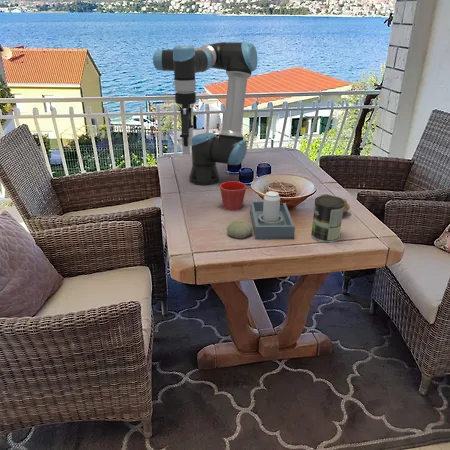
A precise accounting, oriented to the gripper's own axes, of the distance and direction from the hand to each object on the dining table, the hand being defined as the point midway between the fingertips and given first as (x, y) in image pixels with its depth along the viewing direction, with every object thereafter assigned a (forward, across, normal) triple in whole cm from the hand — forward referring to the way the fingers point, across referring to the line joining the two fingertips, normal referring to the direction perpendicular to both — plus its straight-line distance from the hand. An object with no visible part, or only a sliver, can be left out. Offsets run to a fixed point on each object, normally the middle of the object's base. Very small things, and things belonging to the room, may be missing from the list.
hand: (187, 149), depth 156 cm
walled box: (+27, +12, +32) cm, 43 cm away
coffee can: (+27, +22, +51) cm, 62 cm away
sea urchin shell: (+27, +20, +20) cm, 39 cm away
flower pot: (+27, -6, +18) cm, 33 cm away
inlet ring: (+27, +12, +32) cm, 43 cm away
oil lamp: (+27, 0, +59) cm, 65 cm away
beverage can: (+26, +12, +32) cm, 43 cm away
